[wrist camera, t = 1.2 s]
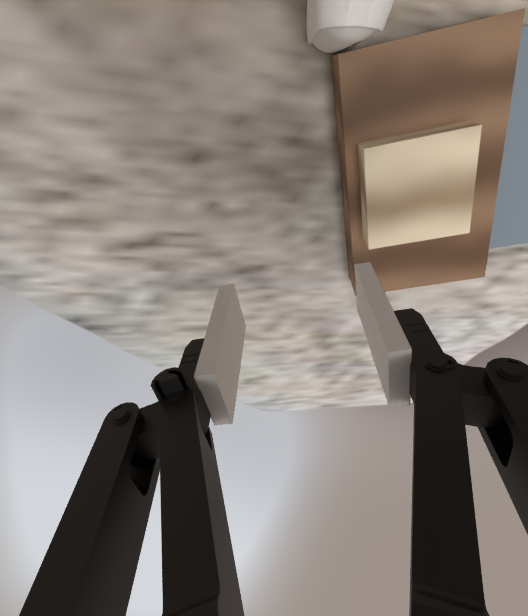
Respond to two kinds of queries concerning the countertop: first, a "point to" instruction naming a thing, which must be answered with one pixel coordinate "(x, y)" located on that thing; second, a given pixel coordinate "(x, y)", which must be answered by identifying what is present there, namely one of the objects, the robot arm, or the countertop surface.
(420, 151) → the birch tile
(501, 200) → the rubber mat
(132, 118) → the countertop surface
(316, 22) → the photo printer
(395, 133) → the board
